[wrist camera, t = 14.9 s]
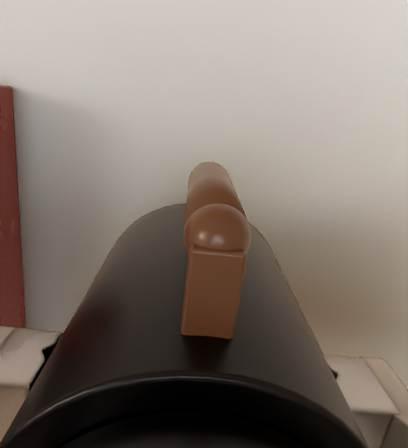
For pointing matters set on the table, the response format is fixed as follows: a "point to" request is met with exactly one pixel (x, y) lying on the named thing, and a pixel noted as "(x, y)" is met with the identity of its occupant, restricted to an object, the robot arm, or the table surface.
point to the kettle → (188, 344)
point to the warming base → (9, 221)
